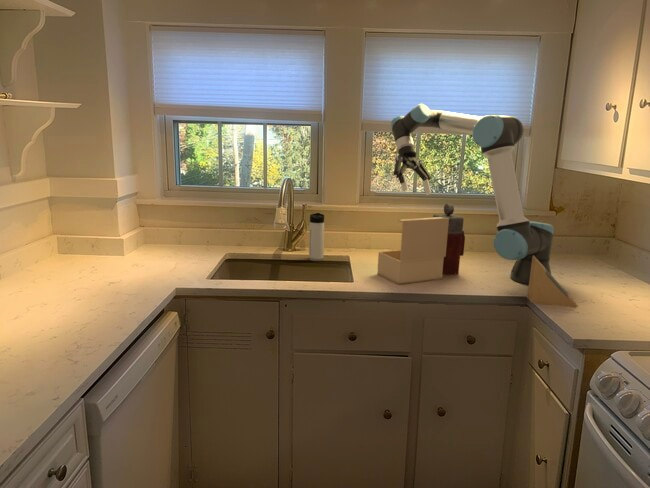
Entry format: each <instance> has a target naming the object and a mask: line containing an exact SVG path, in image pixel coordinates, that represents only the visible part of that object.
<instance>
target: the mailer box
mask: <svg viewBox="0 0 650 488" xmlns="http://www.w3.org/2000/svg"><path fill="white" fill-rule="evenodd" d="M400 255H401V249H397V250H396V249H395V250H386V251H378V258H377V259H378V260H377V273H376V274H377V275H378V276H381V277H382V278H384V279H386V280H389V281H391V282H393V283H394V284H396V285H399V286H400V285H401V286H402V285H408V284H416V283H424V282H432V281H440V280H442V279H443V275H442V272H443V260H444V257H437V258H428V259H418V260H409V261H400Z"/></svg>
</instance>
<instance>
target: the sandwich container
mask: <svg viewBox="0 0 650 488" xmlns="http://www.w3.org/2000/svg"><path fill="white" fill-rule="evenodd" d="M527 297H528V299H529V302H530V303H534V304H541V305H549V306H557V305H558V306H559V307H567V306H570V307H569V308H576V307H579V305H578V303H577V302H576V301H575V300H574V298H573V297H572V296H571V295H570V294H569V293H568V291H567V290H565V288H563V286H562V285H561V284H560V283H559V282H558V281H557V280H556V278H555V277H554V276H553V275H552V273H551V274H550V273H549V272H548V270H547V269H546V268H545V267H544V266H543V265H542V264H541V263H540V262H539V261H538V260H537V259H536V257H535V256H534V255H533V256H532V264H531V272H530V280H529V284H528V290H527Z"/></svg>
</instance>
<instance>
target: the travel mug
mask: <svg viewBox="0 0 650 488" xmlns="http://www.w3.org/2000/svg"><path fill="white" fill-rule="evenodd" d="M308 237H309V238H308V239H309V241H308V244H309V245H308V259H309V260H310V261H312V262H321V261H324V247H325V246H324V245H325V244H324V243H325V242H324V241H325V240H324V239H325V215H324V214H323V213H320V212H316V213H311V214H310V215H309V236H308Z"/></svg>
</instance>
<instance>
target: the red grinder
mask: <svg viewBox="0 0 650 488" xmlns="http://www.w3.org/2000/svg"><path fill="white" fill-rule="evenodd" d="M454 212H455V207H454V204H453V203H445V205H444V207H443V213H435V214H433V216H432V218H434V217H442V218H449V224H448V235H447V247H446V257H444V260H443V272H442V276H451V275H453V276H455V275H459V273H460V272H459V270H460V262H461V256H464V253H465V245H466V244H465V243H466V236H465V232H464V230H463V229H464V221H465V220H464V218H463V217H462V216H460V215H457V214H454Z"/></svg>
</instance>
